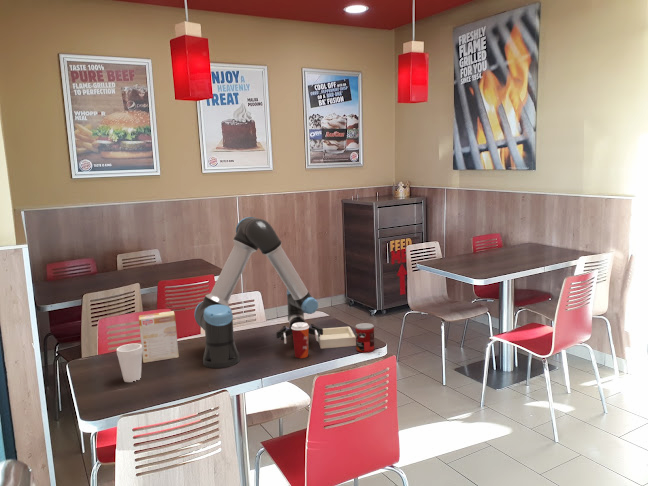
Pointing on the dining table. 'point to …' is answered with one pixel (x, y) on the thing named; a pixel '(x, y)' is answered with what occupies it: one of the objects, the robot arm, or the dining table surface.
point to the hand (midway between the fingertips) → (301, 339)
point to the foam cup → (130, 361)
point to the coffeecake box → (158, 336)
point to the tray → (337, 337)
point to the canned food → (364, 337)
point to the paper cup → (300, 339)
